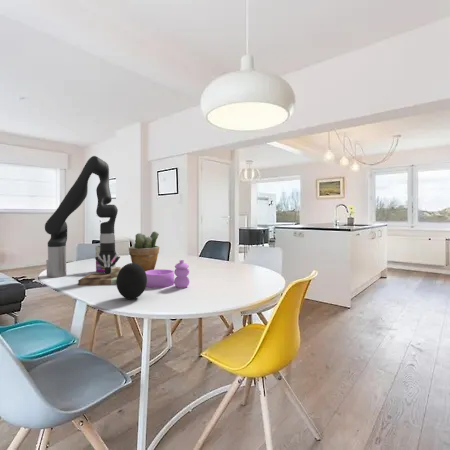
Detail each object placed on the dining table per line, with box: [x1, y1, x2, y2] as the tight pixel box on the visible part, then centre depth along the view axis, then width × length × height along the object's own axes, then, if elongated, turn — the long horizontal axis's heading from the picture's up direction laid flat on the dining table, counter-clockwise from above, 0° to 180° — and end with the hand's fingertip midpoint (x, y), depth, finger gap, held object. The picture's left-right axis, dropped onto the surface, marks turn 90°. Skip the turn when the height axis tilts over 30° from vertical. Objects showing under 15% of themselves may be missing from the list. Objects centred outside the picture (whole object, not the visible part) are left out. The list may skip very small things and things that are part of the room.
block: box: [111, 266, 123, 277], centre depth 162 cm, size 5×5×4 cm
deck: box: [77, 272, 117, 286], centre depth 162 cm, size 24×18×5 cm
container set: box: [145, 259, 190, 289], centre depth 152 cm, size 25×15×13 cm, turn 66°
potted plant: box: [128, 231, 160, 271], centre depth 187 cm, size 18×19×25 cm
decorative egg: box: [115, 262, 147, 300], centre depth 128 cm, size 12×12×15 cm
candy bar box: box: [95, 244, 116, 273], centre depth 188 cm, size 11×5×16 cm, turn 73°
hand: (107, 274), depth 162 cm, fingers closed
